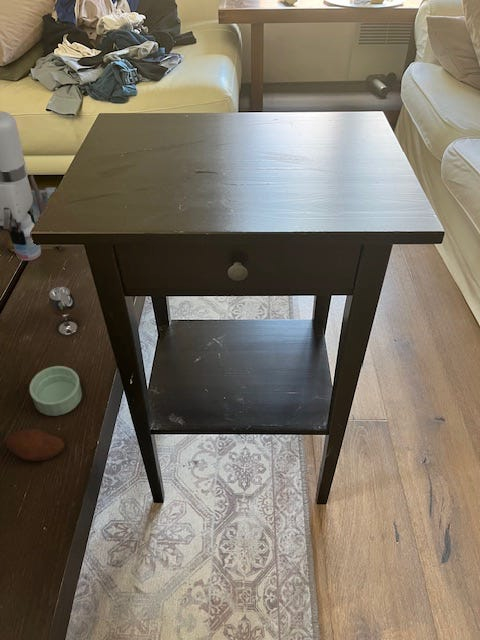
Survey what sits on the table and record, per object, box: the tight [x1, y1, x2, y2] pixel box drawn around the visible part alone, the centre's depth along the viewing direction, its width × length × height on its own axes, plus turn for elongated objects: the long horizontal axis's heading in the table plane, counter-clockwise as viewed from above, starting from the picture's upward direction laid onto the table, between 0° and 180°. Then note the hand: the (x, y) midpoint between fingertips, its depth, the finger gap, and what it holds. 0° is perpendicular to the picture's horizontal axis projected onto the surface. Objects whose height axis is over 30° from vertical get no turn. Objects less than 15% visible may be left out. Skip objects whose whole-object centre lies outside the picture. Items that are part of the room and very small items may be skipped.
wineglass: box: [48, 286, 78, 335], centre depth 121 cm, size 6×6×12 cm
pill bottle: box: [12, 213, 42, 262], centre depth 124 cm, size 6×6×11 cm
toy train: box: [0, 186, 57, 227], centre depth 153 cm, size 11×28×15 cm
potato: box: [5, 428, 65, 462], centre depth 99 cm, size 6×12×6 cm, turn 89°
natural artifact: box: [28, 174, 62, 250], centre depth 145 cm, size 4×23×4 cm
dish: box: [29, 365, 83, 417], centre depth 109 cm, size 10×10×5 cm
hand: (24, 235), depth 124 cm, fingers closed on pill bottle, 6 cm apart
